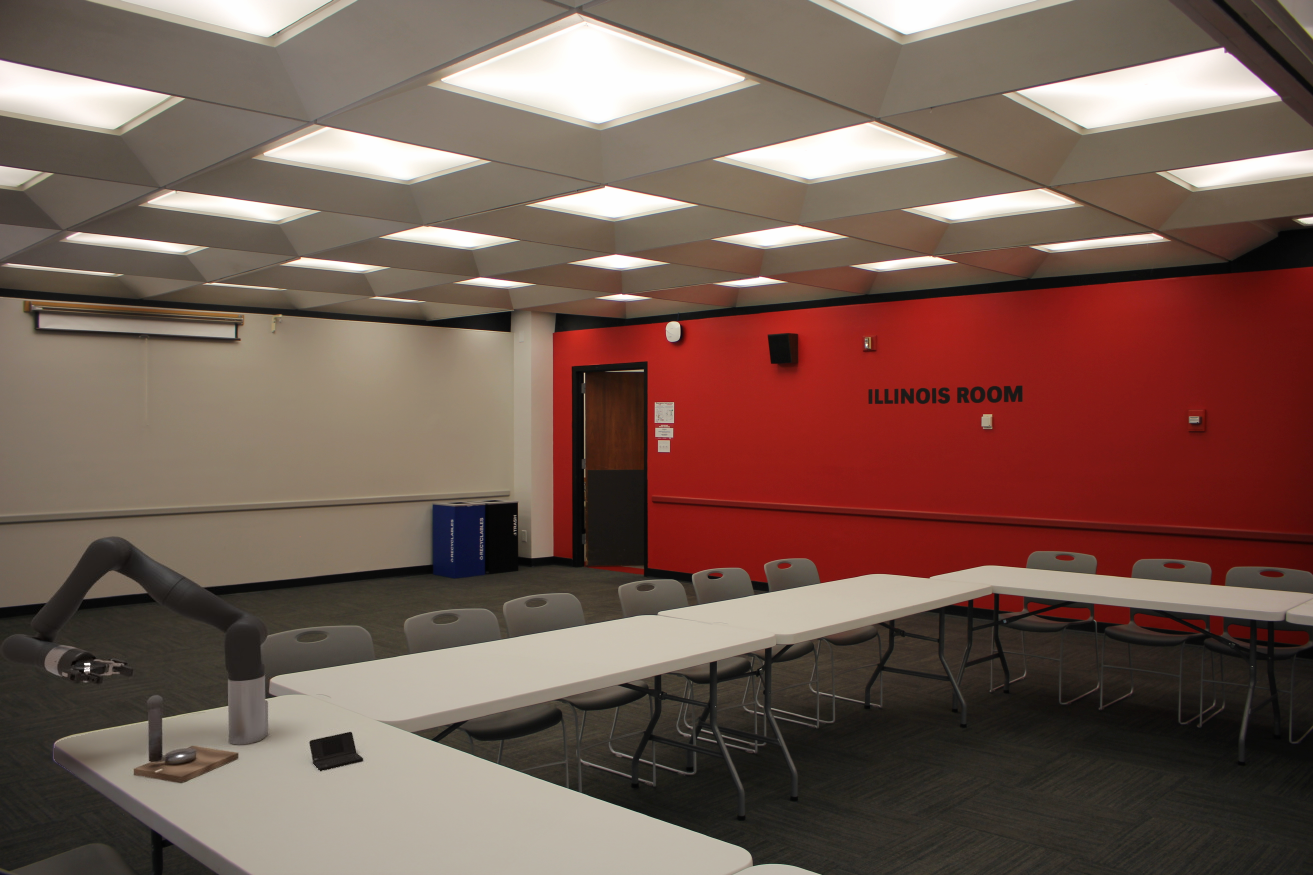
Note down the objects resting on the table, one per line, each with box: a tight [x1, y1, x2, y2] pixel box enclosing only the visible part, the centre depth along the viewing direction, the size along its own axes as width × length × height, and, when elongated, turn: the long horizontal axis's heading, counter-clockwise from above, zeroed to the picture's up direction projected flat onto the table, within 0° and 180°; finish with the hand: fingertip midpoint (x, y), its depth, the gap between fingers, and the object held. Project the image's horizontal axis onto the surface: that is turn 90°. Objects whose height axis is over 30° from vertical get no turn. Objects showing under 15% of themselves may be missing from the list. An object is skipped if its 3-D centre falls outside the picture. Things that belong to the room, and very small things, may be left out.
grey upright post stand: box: [146, 694, 196, 764], centre depth 218 cm, size 11×7×17 cm, turn 124°
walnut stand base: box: [133, 745, 239, 784], centre depth 219 cm, size 17×16×2 cm
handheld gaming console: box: [308, 731, 364, 772], centre depth 222 cm, size 12×7×10 cm
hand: (116, 676), depth 219 cm, fingers open, 8 cm apart
